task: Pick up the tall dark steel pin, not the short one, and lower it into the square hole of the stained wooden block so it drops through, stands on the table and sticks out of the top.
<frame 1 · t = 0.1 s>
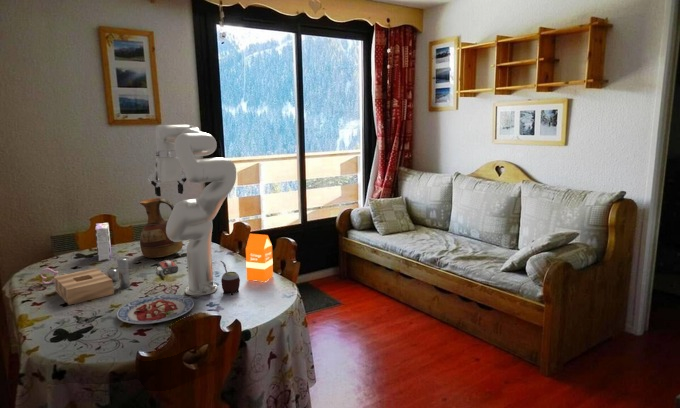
hand: (169, 194, 198), 37 cm above the table, tool pointing down, fingers open, 9 cm apart
ceramic plate: (156, 313, 166), on the table
short pin: (113, 281, 199), on the table
candy box: (105, 257, 234), on the table
ceramic pitcher: (162, 255, 236), on the table
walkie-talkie: (167, 272, 211), on the table
mate gourd: (230, 293, 184), on the table
orange juice: (260, 279, 201), on the table
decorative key: (68, 281, 199), on the table
tall pin: (125, 287, 192), on the table
hole block: (84, 292, 186), on the table
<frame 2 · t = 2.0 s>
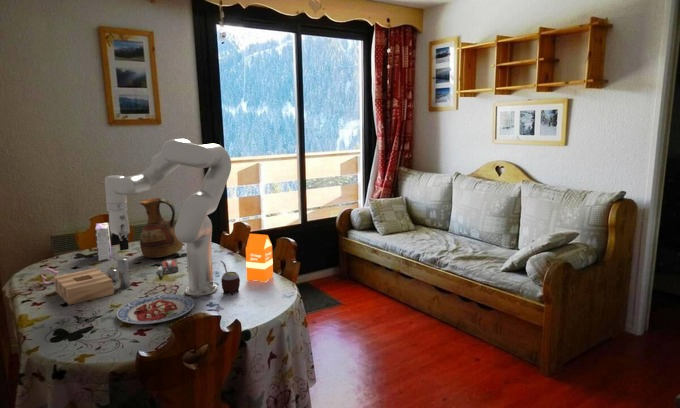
hand: (120, 247, 189), 17 cm above the table, tool pointing down, fingers open, 9 cm apart
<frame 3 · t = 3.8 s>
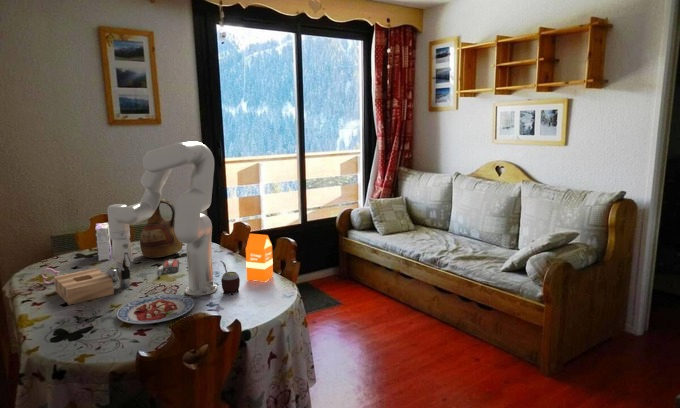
hand: (124, 277, 191), 4 cm above the table, tool pointing down, fingers closed on tall pin, 4 cm apart
tall pin: (125, 287, 192), on the table, touching gripper
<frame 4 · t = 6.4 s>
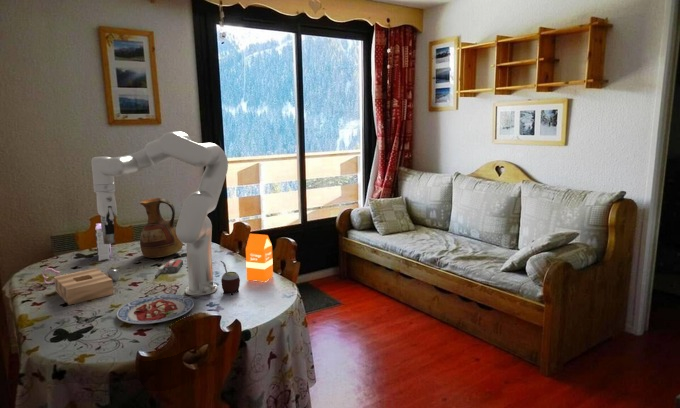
hand: (108, 232, 186), 24 cm above the table, tool pointing down, fingers closed on tall pin, 4 cm apart
tall pin: (109, 242, 186), point 19 cm above the table, touching gripper
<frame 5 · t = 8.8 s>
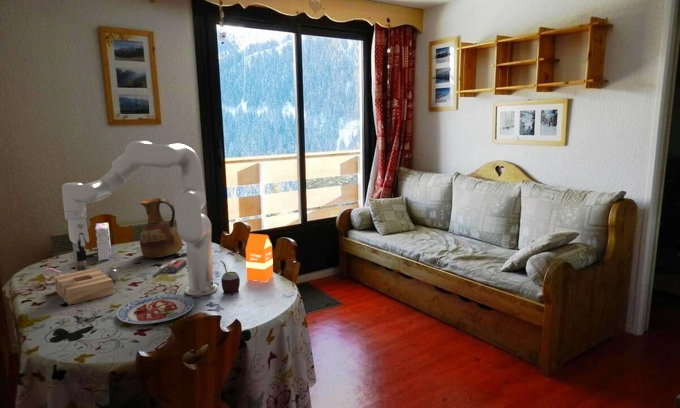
hand: (80, 258, 183), 14 cm above the table, tool pointing down, fingers closed on tall pin, 4 cm apart
tall pin: (81, 269, 184), point 10 cm above the table, touching gripper
when the fingers open (8 cm above the table, at t = 10.9 s): tall pin drops 4 cm, resting in hole block.
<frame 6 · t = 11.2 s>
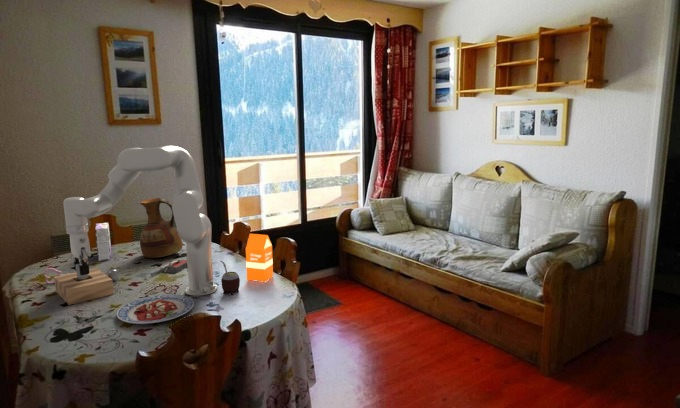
hand: (82, 271, 184), 9 cm above the table, tool pointing down, fingers open, 6 cm apart
tall pin: (84, 292, 186), resting in hole block
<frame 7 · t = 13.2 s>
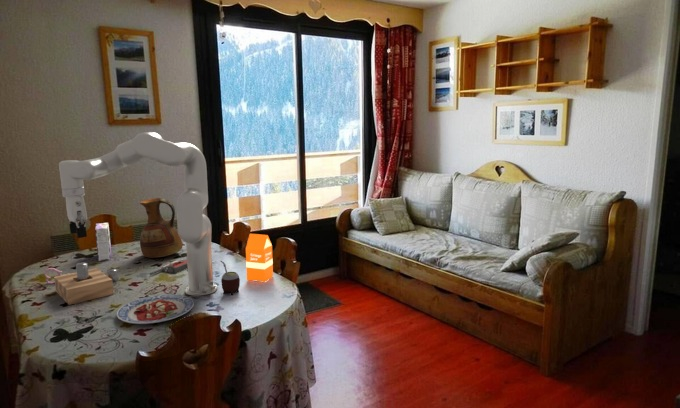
hand: (78, 235, 181), 24 cm above the table, tool pointing down, fingers open, 9 cm apart
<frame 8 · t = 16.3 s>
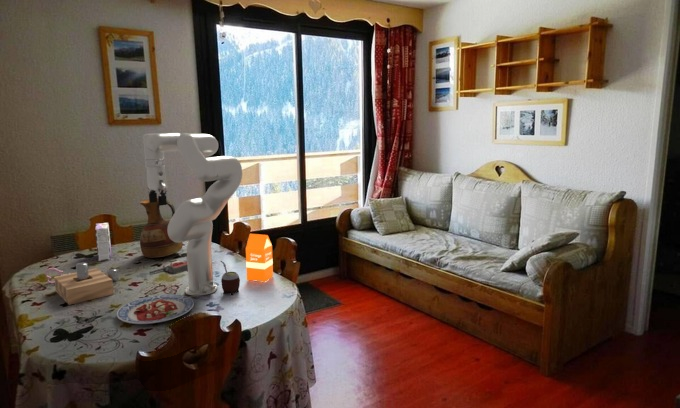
hand: (158, 203, 196), 33 cm above the table, tool pointing down, fingers open, 9 cm apart
at the end: tall pin 0.2 cm off-centre on the hole block, point 0.0 cm above the hole block's base; tall pin tilted 0°; the gripper is holding nothing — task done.
